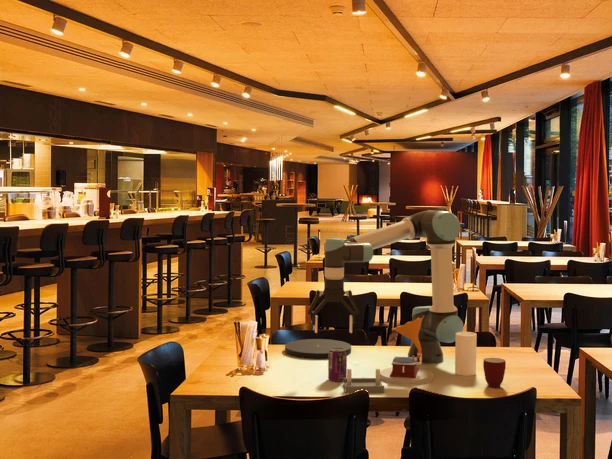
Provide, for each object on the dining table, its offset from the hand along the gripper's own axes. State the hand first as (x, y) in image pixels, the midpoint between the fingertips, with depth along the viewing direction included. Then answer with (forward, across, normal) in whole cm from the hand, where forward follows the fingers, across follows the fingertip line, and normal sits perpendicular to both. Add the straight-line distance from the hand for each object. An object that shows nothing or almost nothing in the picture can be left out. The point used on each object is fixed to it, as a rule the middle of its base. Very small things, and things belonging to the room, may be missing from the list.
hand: (333, 332), depth 297 cm
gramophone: (+18, -29, +1) cm, 34 cm away
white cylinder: (+18, -54, -5) cm, 57 cm away
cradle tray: (+18, -10, +15) cm, 26 cm away
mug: (+18, -59, +14) cm, 63 cm away
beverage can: (+18, -2, +2) cm, 19 cm away
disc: (+18, +2, -48) cm, 51 cm away
